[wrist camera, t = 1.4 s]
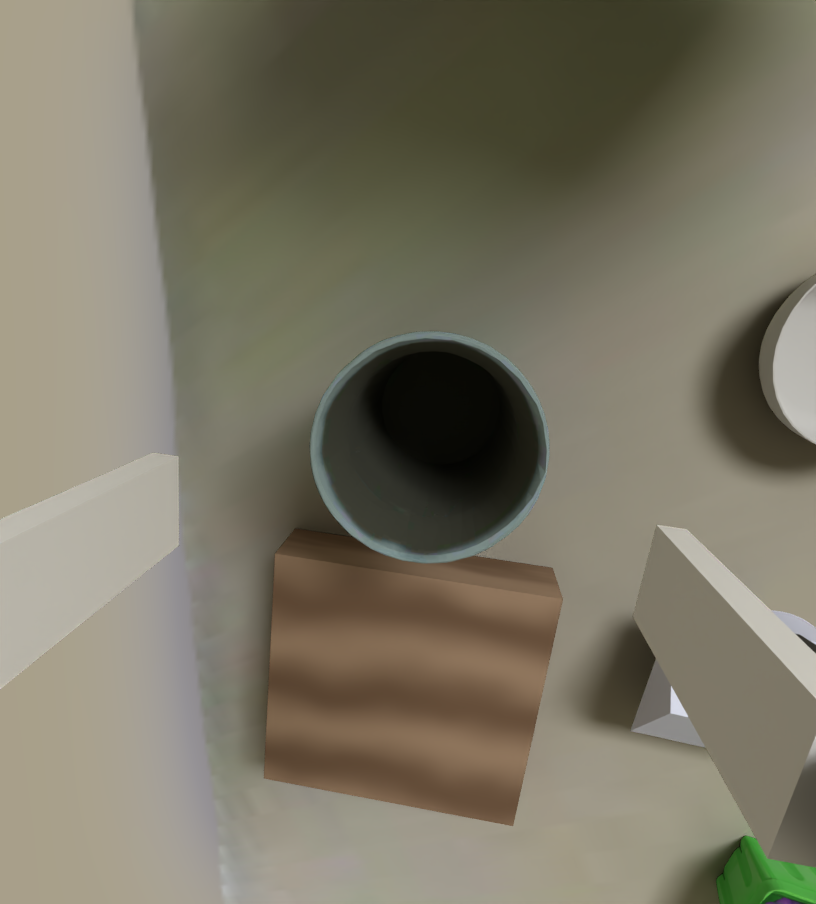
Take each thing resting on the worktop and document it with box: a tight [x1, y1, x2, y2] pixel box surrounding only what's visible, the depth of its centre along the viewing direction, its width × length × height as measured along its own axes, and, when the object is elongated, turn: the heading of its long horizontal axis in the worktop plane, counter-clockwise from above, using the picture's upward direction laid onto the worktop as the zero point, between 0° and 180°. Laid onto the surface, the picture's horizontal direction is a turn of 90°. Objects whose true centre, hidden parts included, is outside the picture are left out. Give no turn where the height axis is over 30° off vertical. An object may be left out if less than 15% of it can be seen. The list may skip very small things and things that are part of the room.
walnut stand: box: [264, 528, 563, 826], centre depth 36 cm, size 18×18×4 cm
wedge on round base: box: [630, 610, 816, 748], centre depth 32 cm, size 9×7×13 cm
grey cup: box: [310, 331, 549, 564], centre depth 27 cm, size 10×10×12 cm
